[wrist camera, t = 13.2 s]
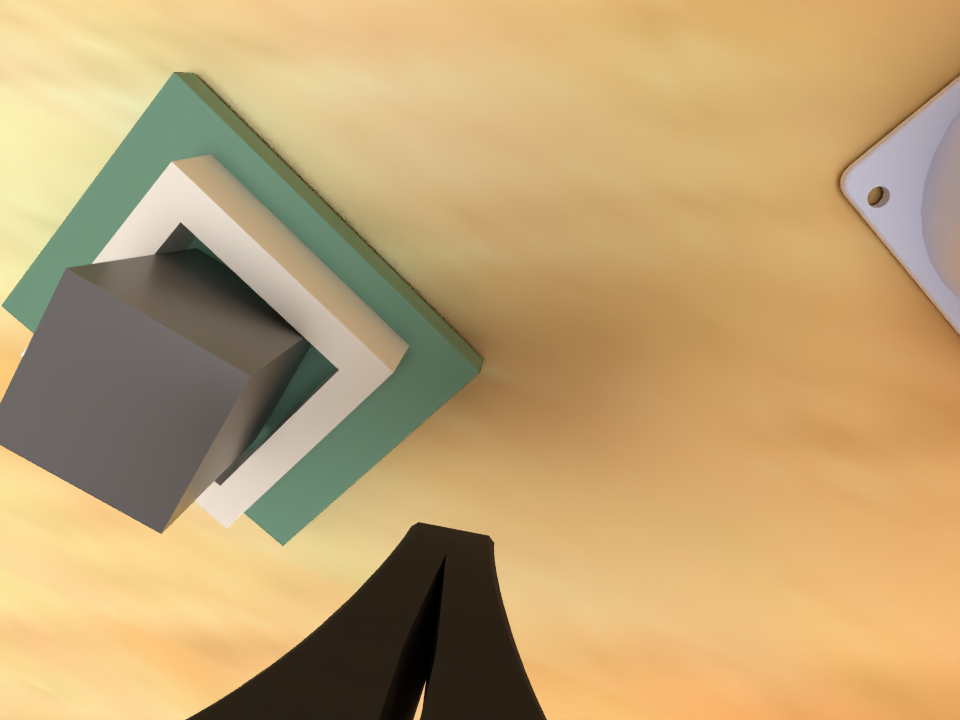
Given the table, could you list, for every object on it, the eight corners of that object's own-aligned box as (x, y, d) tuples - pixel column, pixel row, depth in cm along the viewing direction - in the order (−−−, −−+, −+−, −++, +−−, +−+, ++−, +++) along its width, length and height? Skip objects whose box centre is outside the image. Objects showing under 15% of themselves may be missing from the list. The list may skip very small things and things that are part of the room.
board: (483, 359, 21) (479, 372, 20) (293, 527, 23) (282, 546, 23) (193, 72, 19) (173, 71, 18) (25, 296, 21) (1, 305, 21)
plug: (322, 324, 20) (250, 376, 14) (231, 482, 21) (128, 592, 15) (196, 247, 19) (66, 267, 13) (109, 413, 20) (-46, 498, 14)
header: (409, 345, 20) (393, 372, 18) (255, 491, 22) (226, 528, 20) (211, 154, 18) (171, 161, 16) (69, 331, 21) (20, 355, 19)
